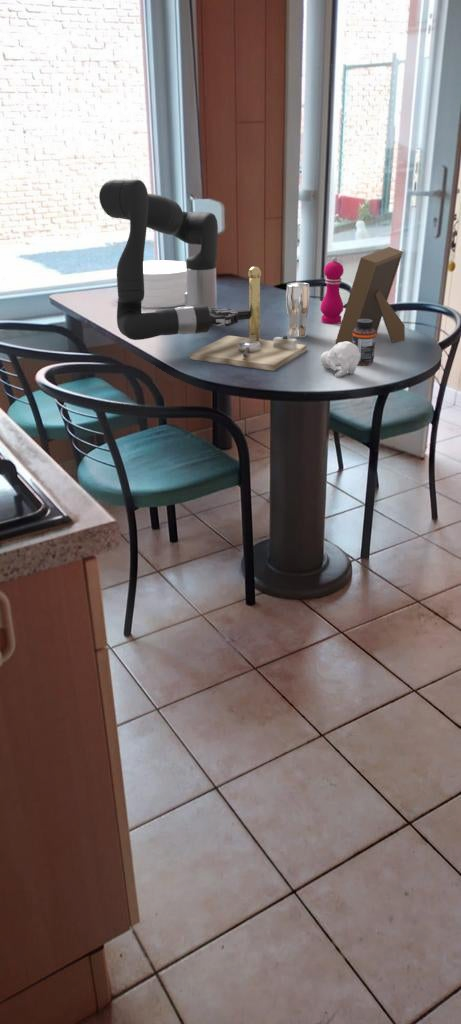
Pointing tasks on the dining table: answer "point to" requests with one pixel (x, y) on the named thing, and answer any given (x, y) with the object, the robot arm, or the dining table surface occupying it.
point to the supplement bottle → (364, 340)
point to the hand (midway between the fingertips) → (249, 314)
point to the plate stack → (164, 283)
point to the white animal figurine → (341, 358)
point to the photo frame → (373, 295)
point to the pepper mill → (332, 293)
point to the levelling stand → (266, 358)
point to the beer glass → (297, 308)
